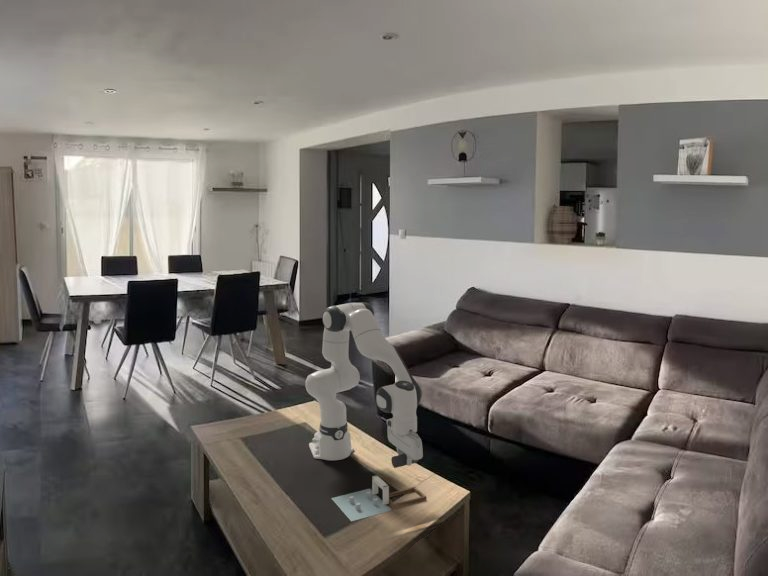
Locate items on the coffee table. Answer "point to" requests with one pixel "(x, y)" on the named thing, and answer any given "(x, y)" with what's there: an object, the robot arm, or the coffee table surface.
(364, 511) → the clip board
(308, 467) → the coffee table surface
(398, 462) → the dark grey rounded bar
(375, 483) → the u-shaped staple bracket
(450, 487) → the coffee table surface
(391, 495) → the tray
